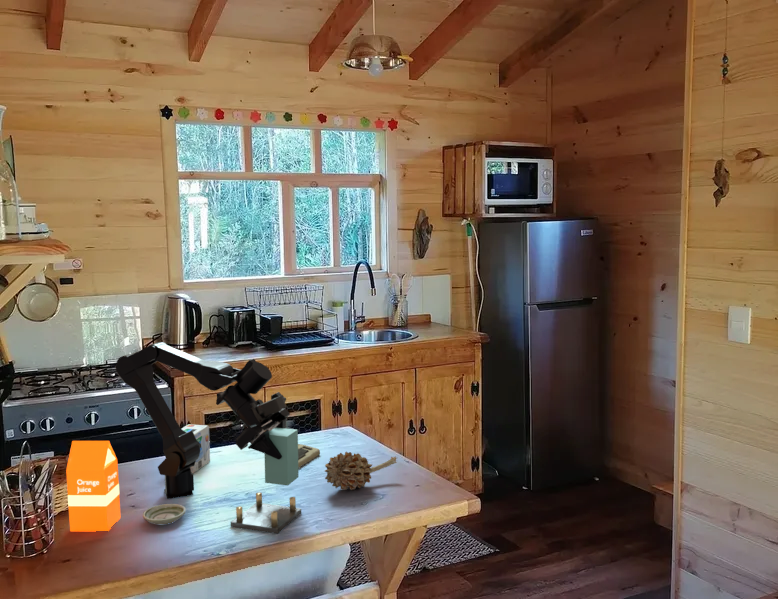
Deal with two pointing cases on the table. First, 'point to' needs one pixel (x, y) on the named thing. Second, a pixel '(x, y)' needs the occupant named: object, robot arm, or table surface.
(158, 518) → the saucer
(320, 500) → the table surface
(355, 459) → the pine cone
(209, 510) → the table surface
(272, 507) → the plate
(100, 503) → the orange juice
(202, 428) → the light bulb box
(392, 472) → the table surface
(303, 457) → the computer
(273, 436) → the teal block
